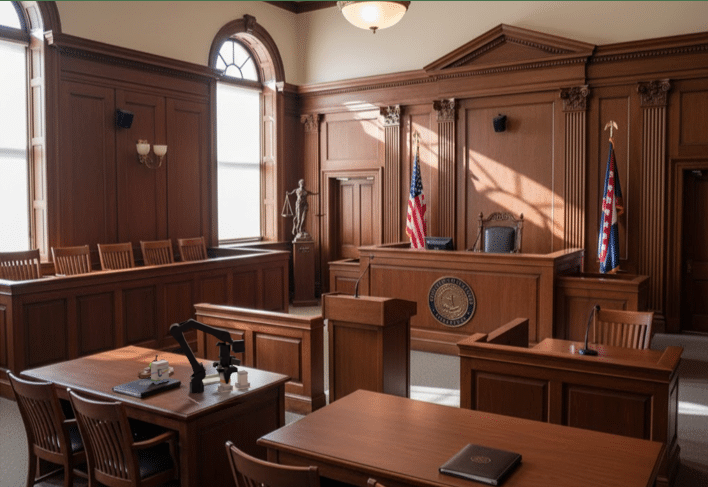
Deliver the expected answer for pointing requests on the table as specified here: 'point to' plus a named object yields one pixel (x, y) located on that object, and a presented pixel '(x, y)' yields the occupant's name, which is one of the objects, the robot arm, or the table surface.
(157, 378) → the ink box
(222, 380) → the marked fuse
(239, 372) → the plain fuse
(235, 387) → the block
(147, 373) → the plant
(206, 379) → the tray
